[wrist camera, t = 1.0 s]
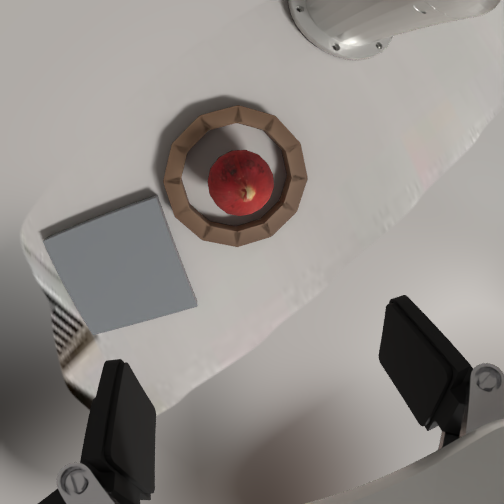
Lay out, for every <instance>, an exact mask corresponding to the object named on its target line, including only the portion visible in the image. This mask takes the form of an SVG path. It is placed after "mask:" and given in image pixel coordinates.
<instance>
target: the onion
mask: <svg viewBox="0 0 504 504" xmlns="http://www.w3.org/2000/svg"><path fill="white" fill-rule="evenodd" d="M208 187H209V193H210V196H211V197H212V199H213V200H214V202H215V203H216V205H217V206H218V207H219V208H221V209H222V210H223V211H225V212H226V213H227V214H232V215H237V216H242V215H248V214H252V213H254V212H255V211H257V210H259V209H261V208H262V207H263V206H264V205H265V204H266V202H267V201H268V200H269V199H270V196H271V193H272V191H273V188H274V182H273V174H272V172H271V170H270V168H269V166H268V164H267V163H266V162H265V161H264V160H263V159H262V158H261V157H260V156H259V155H258V154H255V153H253V152H250V151H247V150H236V151H230V152H228V153H227V154H225V155H223V156H221V157H219V158H218V159H217V161H216V162H215V163H214V165H213V166H212V167H211V168H210V172H209V177H208Z"/></svg>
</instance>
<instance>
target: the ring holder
mask: <svg viewBox="0 0 504 504" xmlns="http://www.w3.org/2000/svg"><path fill="white" fill-rule="evenodd" d="M234 123H239V124H243V125H247V126H250V127H254V128H257V129H261V130H263V131H264V132H265V133H266V134H267V135H268V136H269V137H270V138H271V139H272V140H273V141H274V142H275V143H276V144H277V145H278V146H279V148H280V149H281V150H282V154H283V159H284V163H285V168H286V172H287V178H286V181H285V184H284V187H283V191H282V194H281V197H280V200H279V201H278V202H277V203H276V204H275V205H274V206H273V207H272V208H271V209H270V210H269V211H268V212H267V213H266V214H265V215H264V216H263V217H262V218H261V219H259V220H255V221H252V222H249V223H245V224H242V225H239V226H230V225H225V224H221V223H216V222H211V221H209V220H207V219H206V218H205V217H204V216H203V215H202V214H201V213H199V212H198V211H197V210H196V209H195V208H194V207H193V206H192V205H190V204H189V201H188V198H187V195H186V191H185V188H184V185H183V182H182V179H181V177H182V172H183V168H184V164H185V160H186V156H187V152H188V151H189V150H190V149H191V148H192V147H193V146H194V145H195V144H196V143H197V142H198V141H199V140H200V139H201V138H202V137H203V136H204V135H205V134H206V133H207V132H208V131H209V130H212V129H215V128H219V127H223V126H226V125H230V124H234ZM306 182H307V173H306V168H305V163H304V158H303V153H302V149H301V144H300V142H299V141H298V140H297V139H296V138H295V137H294V136H293V135H292V133H291V132H290V131H289V130H288V129H287V128H286V127H285V126H284V125H283V124H282V123H281V122H280V120H279V119H278V118H277V117H276V116H274V115H270V114H267V113H264V112H260V111H257V110H253V109H250V108H246V107H243V106H239V105H237V106H233V107H229V108H225V109H222V110H218V111H214V112H210V113H207V114H203V115H200V116H199V117H198V118H197V119H196V120H195V121H194V122H193V123H192V124H191V125H190V126H189V127H188V128H187V129H186V130H185V131H184V132H183V133H182V134H181V135H180V136H179V137H178V138H177V139H176V140H175V141H174V142H173V143H172V146H171V150H170V154H169V158H168V162H167V167H166V171H165V176H164V180H163V183H164V186H165V189H166V192H167V195H168V198H169V201H170V204H171V207H172V210H173V213H174V216H175V217H176V218H177V219H178V220H179V221H180V222H182V223H183V224H184V225H185V226H186V227H187V228H189V229H190V230H191V231H192V232H193V233H194V234H196V235H197V236H198V237H199V238H200V239H202V240H204V241H209V242H214V243H219V244H225V245H230V246H235V247H239V246H242V245H245V244H249V243H252V242H255V241H259V240H262V239H265V238H269V237H271V236H272V235H274V234H275V233H276V232H277V231H278V230H279V229H280V228H281V227H282V226H283V225H284V224H285V223H286V222H287V221H288V220H289V219H290V218H291V217H292V216H293V215H294V214H295V213H296V212H297V210H298V206H299V203H300V200H301V197H302V194H303V191H304V188H305V185H306Z"/></svg>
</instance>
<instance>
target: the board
mask: <svg viewBox="0 0 504 504" xmlns="http://www.w3.org/2000/svg"><path fill="white" fill-rule="evenodd" d="M43 243H44V245H45V247H46V249H47V252H48V254H49V256H50V258H51V260H52V262H53V264H54V266H55V268H56V270H57V272H58V274H59V276H60V278H61V280H62V282H63V284H64V286H65V288H66V290H67V291H68V293H69V295H70V297H71V299H72V300H73V302H74V304H75V306H76V308H77V309H78V311H79V313H80V314H81V316H82V318H83V320H84V321H85V323H86V325H87V326H88V328H89V329H90V331H91V333H92V334H93V335H95V334H99V333H103V332H107V331H110V330H114V329H118V328H122V327H126V326H129V325H133V324H137V323H140V322H144V321H148V320H151V319H155V318H158V317H162V316H166V315H169V314H173V313H176V312H180V311H183V310H187V309H190V308H194V307H197V299H196V297H195V294H194V292H193V289H192V287H191V284H190V282H189V279H188V277H187V274H186V272H185V269H184V266H183V264H182V261H181V259H180V256H179V253H178V251H177V248H176V245H175V243H174V240H173V237H172V235H171V232H170V229H169V226H168V223H167V221H166V218H165V215H164V212H163V209H162V206H161V204H160V201H159V198H158V195H156V196H153V197H150V198H147V199H144V200H141V201H138V202H136V203H133V204H130V205H127V206H124V207H122V208H119V209H116V210H114V211H111V212H108V213H106V214H103V215H101V216H98V217H95V218H93V219H90V220H88V221H85V222H83V223H80V224H78V225H75V226H73V227H71V228H68V229H66V230H63V231H61V232H59V233H56V234H54V235H52V236H49V237H47V238H46V239H45V240H44V241H43Z"/></svg>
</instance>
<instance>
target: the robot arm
mask: <svg viewBox="0 0 504 504" xmlns="http://www.w3.org/2000/svg"><path fill="white" fill-rule="evenodd" d="M499 2H500V0H288V4H289V9H290V12H291V15H292V17H293V20H294V22H295V24H296V25H297V27H298V28H299V29H300V31H301V32H302V33H303V35H304V36H305V37H306V38H307V39H308V40H309V41H310V42H312V43H313V44H314V45H316V46H317V47H318V48H320V49H321V50H323V51H325V52H327V53H328V54H331V55H333V56H336V57H338V58H343V59H347V60H362V59H367V58H371V57H374V56H376V55H378V54H380V53H382V52H383V51H384V50H385V49H386V48H387V47H388V45H389V44H390V42H391V40H392V37H393V36H395V35H399V34H402V33H406V32H409V31H413V30H417V29H421V28H425V27H429V26H433V25H438V24H442V23H447V22H452V21H457V20H462V19H466V18H472V17H477V16H481V15H484V14H486V13H488V12H490V11H491V10H493V9H494V8H495V7H496V6H497V5H498V3H499ZM297 10H299V11H300V12H298V11H297ZM333 47H334V49H333ZM379 360H380V363H381V365H382V366H383V368H384V369H385V371H386V372H387V374H388V375H389V377H390V378H391V380H392V382H393V383H394V385H395V386H396V388H397V389H398V391H399V393H400V394H401V396H402V397H403V399H404V400H405V402H406V404H407V405H408V407H409V408H410V410H411V412H412V413H413V415H414V416H415V418H416V420H417V421H418V423H419V424H420V425H421V426H425V428H426V429H427V431H429V430H431V429H433V428H435V427H436V426H438V425H439V427H440V428H441V430H442V433H441V438H440V444H439V448H438V450H437V451H436V452H434V453H432V454H430V455H428V456H426V457H424V458H422V459H420V460H418V461H416V462H414V463H412V464H410V465H408V466H406V467H404V468H402V469H400V470H397V471H395V472H393V473H391V474H389V475H386V476H384V477H382V478H379V479H377V480H374V481H372V482H369V483H367V484H364V485H362V486H359V487H356V488H354V489H351V490H348V491H345V492H342V493H339V494H336V495H333V496H330V497H327V498H323V499H320V500H317V501H313V502H309V503H306V504H504V374H503V372H502V371H501V370H500V369H499V368H498V367H497V366H495V365H493V364H488V363H486V364H485V363H484V364H480V365H478V366H476V367H475V368H474V369H473V368H472V367H471V365H470V364H469V363H468V361H467V360H466V359H465V358H464V357H463V356H462V355H461V353H460V352H459V351H458V350H457V349H456V348H455V347H454V346H453V345H452V343H451V342H450V341H449V340H448V339H447V338H446V337H445V336H444V335H443V333H442V332H441V331H439V329H438V328H437V327H436V326H435V325H434V324H433V323H432V322H431V321H430V320H429V318H428V317H427V316H426V315H425V314H424V313H423V312H422V311H421V310H420V309H419V308H418V307H417V306H416V305H415V304H414V303H413V302H412V301H411V300H410V299H409V298H408V297H407V296H406V295H403V296H400V297H397V298H394V299H391V300H390V302H389V304H388V305H387V306H386V312H385V319H384V326H383V332H382V339H381V345H380V350H379ZM155 427H156V411H155V408H154V406H153V404H152V403H151V401H150V400H149V398H148V396H147V395H146V393H145V391H144V390H143V388H142V387H141V385H140V383H139V381H138V380H137V378H136V376H135V375H134V373H133V371H132V369H131V368H130V366H129V364H128V363H124V362H123V361H122V360H121V359H117V360H109V361H106V362H105V363H104V367H103V370H102V374H101V378H100V382H99V387H98V391H97V395H96V398H94V399H93V402H92V405H91V409H90V414H89V418H88V423H87V428H86V433H85V439H84V444H83V449H82V455H81V461H80V463H77V462H74V463H69V464H67V465H65V466H64V467H63V468H62V469H61V470H60V472H59V473H58V476H57V487H58V489H57V490H55V491H54V492H53V493H51V494H50V495H49V496H48V497H46V498H45V499H43V500H42V501H41V502H40V503H38V504H140V500H151V495H150V494H151V493H154V490H155V483H154V482H155V472H154V470H155Z"/></svg>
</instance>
